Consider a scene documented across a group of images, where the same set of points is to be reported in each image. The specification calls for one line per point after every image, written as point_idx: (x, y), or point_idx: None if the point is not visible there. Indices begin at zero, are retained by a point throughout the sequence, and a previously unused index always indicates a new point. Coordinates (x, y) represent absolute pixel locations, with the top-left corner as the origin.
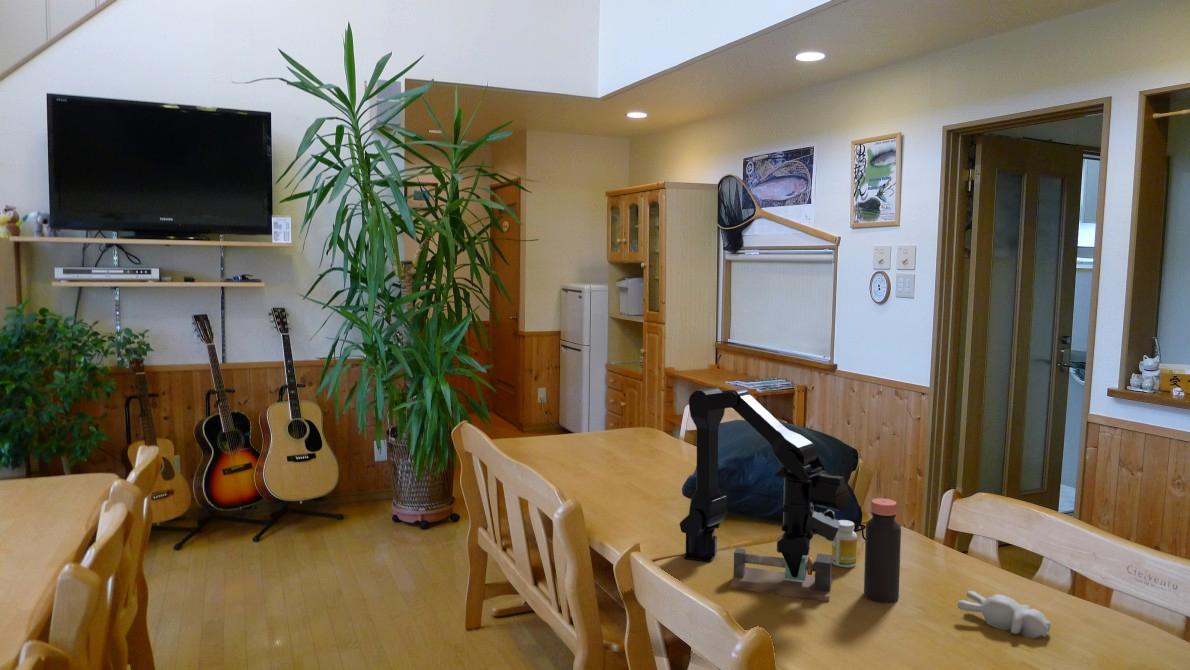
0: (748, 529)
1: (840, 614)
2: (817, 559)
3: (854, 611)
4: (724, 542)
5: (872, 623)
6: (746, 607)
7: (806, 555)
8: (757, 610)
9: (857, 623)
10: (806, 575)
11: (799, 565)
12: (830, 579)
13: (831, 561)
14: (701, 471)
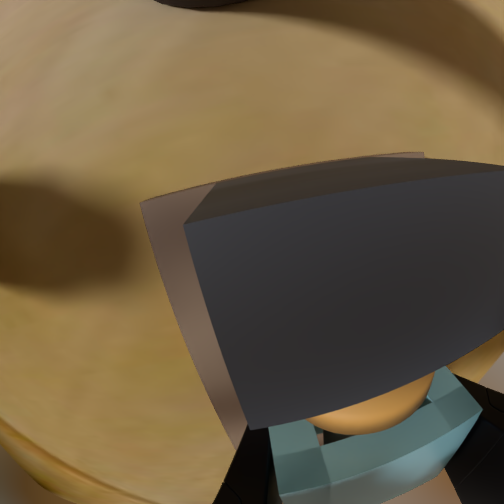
0: (25, 460)
1: (475, 101)
2: (463, 343)
3: (433, 47)
4: (113, 497)
5: (463, 11)
6: (479, 365)
7: (347, 455)
8: (492, 339)
9: (488, 54)
10: (194, 341)
11: (479, 386)
12: (344, 163)
13: (261, 192)
14: None
